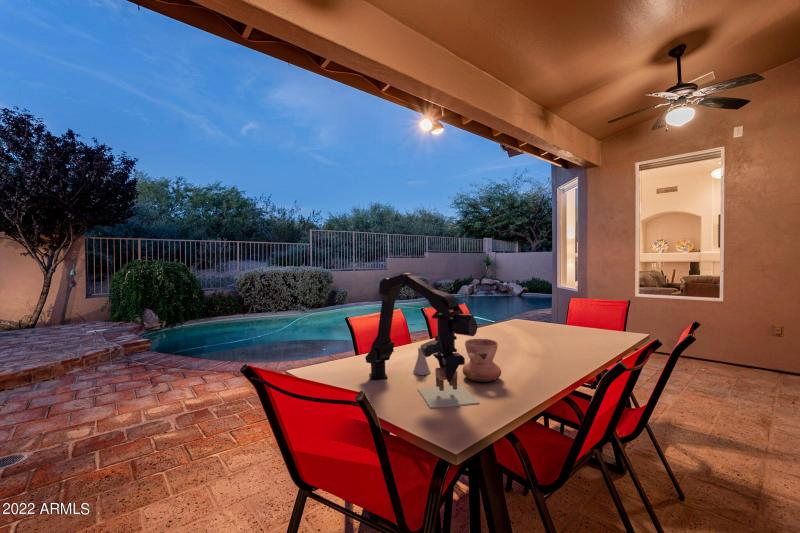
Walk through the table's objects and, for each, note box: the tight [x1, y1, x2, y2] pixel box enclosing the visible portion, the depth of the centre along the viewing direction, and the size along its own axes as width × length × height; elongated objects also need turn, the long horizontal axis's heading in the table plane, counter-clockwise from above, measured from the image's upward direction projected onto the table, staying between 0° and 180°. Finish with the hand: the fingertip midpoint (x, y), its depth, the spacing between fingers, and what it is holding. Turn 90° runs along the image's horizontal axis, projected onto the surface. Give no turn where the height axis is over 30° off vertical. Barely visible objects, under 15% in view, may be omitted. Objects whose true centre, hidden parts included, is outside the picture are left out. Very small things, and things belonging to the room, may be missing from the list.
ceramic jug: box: [461, 338, 502, 383], centre depth 130 cm, size 18×14×14 cm
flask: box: [412, 347, 431, 376], centre depth 137 cm, size 7×7×10 cm
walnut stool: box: [434, 367, 458, 391], centre depth 112 cm, size 6×5×6 cm
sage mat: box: [417, 384, 480, 409], centre depth 112 cm, size 16×16×1 cm
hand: (446, 379), depth 112 cm, fingers closed on walnut stool, 5 cm apart
